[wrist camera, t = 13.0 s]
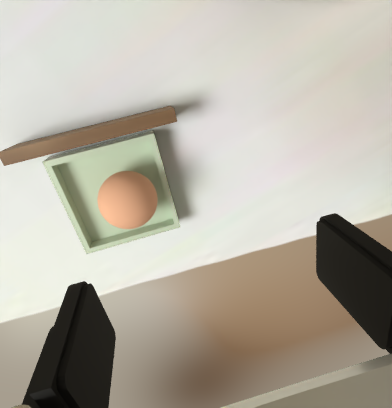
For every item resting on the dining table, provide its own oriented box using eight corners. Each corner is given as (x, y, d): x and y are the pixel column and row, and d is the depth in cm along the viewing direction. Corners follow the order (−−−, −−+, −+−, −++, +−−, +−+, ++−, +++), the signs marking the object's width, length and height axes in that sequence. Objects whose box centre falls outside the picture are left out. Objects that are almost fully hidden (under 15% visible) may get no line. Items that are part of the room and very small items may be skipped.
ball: (82, 178, 28) (96, 191, 23) (135, 159, 30) (158, 167, 25) (103, 227, 30) (120, 248, 26) (150, 205, 33) (173, 221, 28)
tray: (49, 157, 28) (42, 162, 26) (153, 130, 29) (153, 133, 27) (89, 244, 33) (86, 254, 31) (178, 219, 34) (180, 227, 32)
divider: (16, 144, 27) (-3, 153, 24) (169, 105, 28) (174, 108, 25) (22, 155, 28) (4, 165, 24) (172, 117, 29) (177, 121, 25)
